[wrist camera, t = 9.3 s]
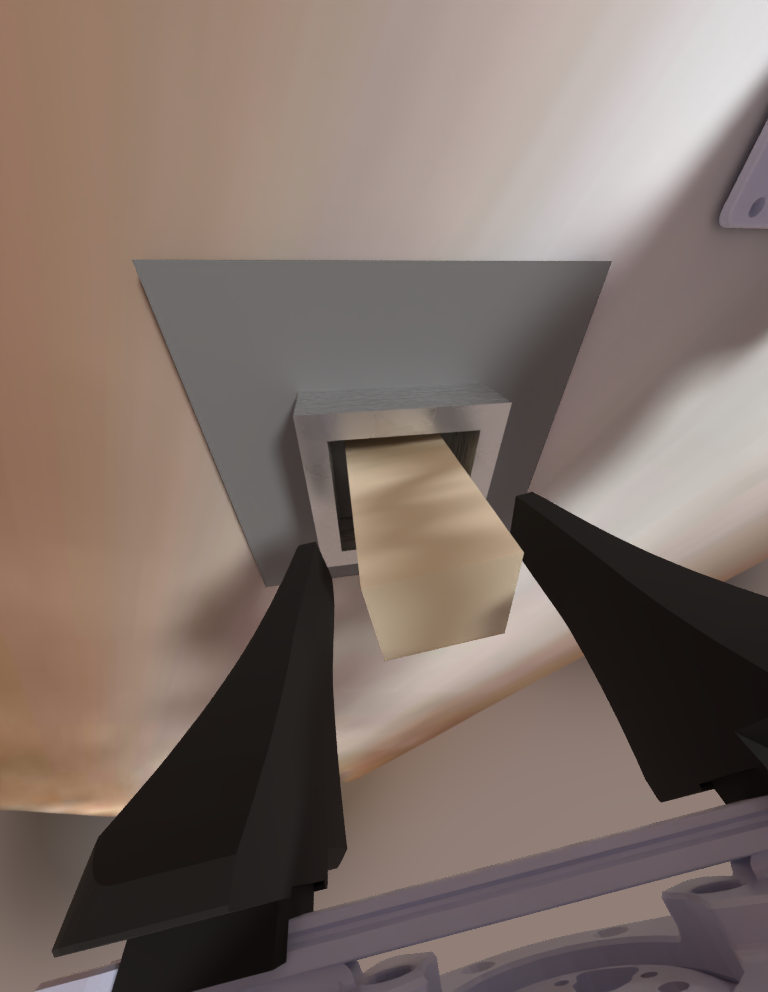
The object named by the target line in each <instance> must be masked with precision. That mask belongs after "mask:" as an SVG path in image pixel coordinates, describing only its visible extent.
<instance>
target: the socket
mask: <svg viewBox="0 0 768 992" xmlns="http://www.w3.org/2000/svg"><path fill="white" fill-rule="evenodd" d="M511 404H512V402H510V401H509V400H507V399H506V398H504V397H503V396H501V395H500V394H499V393H497V392H496V391H494V390H493V389H491V388H490V387H488V386H487V385H485V384H484V383H468V384H449V385H430V386H410V387H391V388H371V389H352V390H333V391H313V392H298V397H297V401H296V405H295V409H294V414H293V419H294V424H295V429H296V434H297V439H298V444H299V449H300V454H301V459H302V464H303V469H304V474H305V479H306V484H307V489H308V494H309V499H310V504H311V509H312V514H313V519H314V524H315V529H316V534H317V539H318V544H319V549H320V552H321V554H322V556H323V558H324V560H325V563H326V565H327V567H333V566H341V565H349V564H357V563H358V558H357V549H356V540H355V531H354V523H353V516H348V517H340V515H339V507H338V499H337V492H336V484H335V476H334V468H333V460H332V452H331V444H330V441H338V440H351V439H365V438H379V437H392V436H406V435H420V434H433V433H447V432H453V438H452V445H451V451H452V453H453V454H454V455H455V457H456V458H457V460H458V461H459V462H460V464H461V465H462V467H463V468H464V469H465V471H466V472H467V474H468V475H469V476H470V478H471V479H472V481H473V482H474V483H475V485H476V486H477V488H478V489H479V490H480V492H481V493H482V495H483V496H484V497H485V499H486V498H487V494H488V490H489V487H490V483H491V479H492V475H493V472H494V468H495V464H496V460H497V457H498V453H499V449H500V445H501V442H502V438H503V434H504V430H505V427H506V423H507V419H508V416H509V412H510V408H511Z"/></svg>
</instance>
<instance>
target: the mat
mask: <svg viewBox="0 0 768 992" xmlns="http://www.w3.org/2000/svg"><path fill="white" fill-rule="evenodd" d="M132 261H133V263H134V266H135V268H136V271H137V273H138V275H139V278H140V280H141V283H142V285H143V288H144V290H145V293H146V295H147V297H148V300H149V302H150V305H151V307H152V310H153V312H154V314H155V317H156V319H157V322H158V324H159V327H160V329H161V332H162V334H163V336H164V339H165V341H166V344H167V346H168V349H169V351H170V354H171V356H172V358H173V361H174V363H175V366H176V368H177V371H178V373H179V376H180V378H181V380H182V383H183V385H184V388H185V390H186V393H187V395H188V397H189V400H190V402H191V405H192V407H193V410H194V412H195V415H196V417H197V419H198V422H199V424H200V427H201V429H202V432H203V434H204V437H205V439H206V441H207V444H208V446H209V449H210V451H211V454H212V456H213V458H214V461H215V463H216V466H217V468H218V471H219V473H220V476H221V478H222V480H223V483H224V485H225V488H226V490H227V493H228V495H229V498H230V500H231V502H232V505H233V507H234V510H235V512H236V515H237V517H238V520H239V522H240V524H241V527H242V529H243V532H244V534H245V537H246V539H247V541H248V544H249V546H250V549H251V551H252V554H253V556H254V559H255V561H256V563H257V566H258V568H259V571H260V573H261V576H262V578H263V581H264V583H265V585H266V587H267V586H275V585H281V582H282V580H283V578H284V576H285V574H286V572H287V569H288V567H289V565H290V563H291V560H292V558H293V556H294V553H295V551H296V549H297V547H298V546H299V545H303V544H307V543H311V542H316V543H317V545H318V547H319V544H318V539H317V534H316V529H315V524H314V519H313V514H312V509H311V504H310V499H309V494H308V489H307V484H306V479H305V474H304V469H303V464H302V459H301V454H300V449H299V444H298V439H297V434H296V429H295V424H294V419H293V414H294V409H295V405H296V401H297V397H298V392H313V391H333V390H352V389H371V388H391V387H410V386H430V385H449V384H468V383H484V384H485V385H487V386H488V387H490V388H491V389H493V390H494V391H496V392H497V393H499V394H500V395H501V396H503V397H504V398H506V399H507V400H509V401H510V402H512V404H511V408H510V412H509V416H508V419H507V423H506V427H505V430H504V434H503V438H502V442H501V445H500V449H499V453H498V457H497V460H496V464H495V468H494V472H493V475H492V479H491V483H490V487H489V490H488V494H487V498H486V500H487V502H488V503H489V504H490V506H491V507H492V509H493V510H494V511H495V513H496V514H497V516H498V517H499V518H500V520H501V521H502V523H503V524H504V525H505V527H506V528H507V530H508V531H509V532H510V529H511V523H512V517H513V511H514V504H515V498H516V496H518V495H522V494H526V493H527V490H528V488H529V485H530V482H531V480H532V477H533V474H534V471H535V469H536V466H537V463H538V461H539V458H540V455H541V452H542V450H543V447H544V444H545V442H546V439H547V436H548V433H549V431H550V428H551V425H552V423H553V420H554V417H555V414H556V412H557V409H558V406H559V403H560V401H561V398H562V395H563V393H564V390H565V387H566V384H567V382H568V379H569V376H570V374H571V371H572V368H573V365H574V363H575V360H576V357H577V355H578V352H579V349H580V346H581V344H582V341H583V338H584V336H585V333H586V330H587V327H588V325H589V322H590V319H591V317H592V314H593V311H594V308H595V306H596V303H597V300H598V298H599V295H600V292H601V289H602V287H603V284H604V281H605V279H606V276H607V273H608V270H609V268H610V265H611V262H612V261H355V260H132ZM439 435H440V436H441V437H442V439H443V440H444V442H445V443H446V444H447V446H448V447H449V448H450V450H451V445H452V438H453V432H447V433H439ZM330 444H331V452H332V460H333V468H334V476H335V484H336V492H337V499H338V507H339V515H340V517H348V516H353V514H352V505H351V496H350V487H349V478H348V469H347V460H346V451H345V442H344V440H338V441H330ZM328 569H329V572H330V574H331V576H332V578H336V577H344V576H351V575H359V567H358V563H357V564H349V565H341V566H333V567H328Z"/></svg>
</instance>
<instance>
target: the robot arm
mask: <svg viewBox="0 0 768 992" xmlns="http://www.w3.org/2000/svg"><path fill="white" fill-rule="evenodd" d="M751 206H752V207H751ZM750 208H751V209H750ZM749 210H750V211H749ZM719 223H720V225H721V226H722V227H724V228H761V229H768V120H767V122H766V124H765V126H764V127H763V129H762V131H761V133H760V135H759V137H758V139H757V141H756V143H755V145H754V147H753V149H752V151H751V153H750V155H749V157H748V159H747V161H746V163H745V165H744V167H743V169H742V171H741V173H740V175H739V177H738V179H737V181H736V183H735V185H734V187H733V189H732V191H731V193H730V195H729V197H728V199H727V201H726V203H725V205H724V207H723V209H722V211H721V214H720V219H719ZM510 534H511V535H512V537H513V538H514V539H515V541H516V542H517V544H518V545H519V546H520V548H521V549H522V551H523V552H524V555H523V559H522V561H523V562H524V564H525V565H526V567H527V568H528V570H529V571H530V572H531V574H532V575H533V577H534V578H535V580H536V581H537V582H538V584H539V585H540V587H541V588H542V590H543V591H544V592H545V594H546V595H547V597H548V598H549V600H550V601H551V602H552V604H553V605H554V607H555V608H556V609H557V611H558V612H559V614H560V615H561V617H562V618H563V620H564V621H565V623H566V624H567V626H568V628H569V629H570V631H571V633H572V635H573V636H574V638H575V640H576V642H577V643H578V645H579V647H580V649H581V650H582V652H583V654H584V656H585V657H586V659H587V661H588V663H589V665H590V667H591V669H592V670H593V672H594V674H595V676H596V678H597V680H598V682H599V683H600V685H601V687H602V689H603V691H604V693H605V695H606V697H607V699H608V701H609V703H610V705H611V707H612V709H613V711H614V713H615V715H616V717H617V719H618V721H619V723H620V725H621V727H622V729H623V731H624V733H625V735H626V738H627V740H628V742H629V744H630V746H631V749H632V751H633V753H634V755H635V757H636V759H637V762H638V764H639V766H640V768H641V771H642V773H643V775H644V777H645V780H646V781H647V782H648V784H649V786H650V787H651V789H652V791H653V792H654V794H655V795H656V797H657V798H658V800H659V801H660V802H665V801H669V800H673V799H677V798H681V797H684V796H688V795H692V794H696V793H700V792H704V791H708V790H712V789H715V790H716V792H717V793H718V794H719V795H720V797H721V798H722V800H723V801H724V802H725V804H726V805H722V806H718V807H714V808H710V809H707V810H703V811H699V812H695V813H691V814H687V815H683V816H680V817H676V818H672V819H668V820H664V821H660V822H656V823H652V824H649V825H645V826H641V827H637V828H633V829H629V830H626V831H622V832H618V833H615V834H610V835H606V836H602V837H599V838H595V839H591V840H587V841H583V842H579V843H576V844H572V845H568V846H564V847H560V848H557V849H552V850H549V851H545V852H541V853H537V854H533V855H529V856H525V857H522V858H518V859H514V860H510V861H506V862H503V863H498V864H495V865H491V866H487V867H483V868H479V869H475V870H471V871H468V872H464V873H460V874H456V875H452V876H449V877H444V878H441V879H437V880H433V881H429V882H425V883H421V884H418V885H414V886H410V887H406V888H402V889H398V890H394V891H391V892H387V893H383V894H379V895H375V896H371V897H368V898H364V899H360V900H356V901H352V902H348V903H344V904H341V905H337V906H333V907H329V908H325V909H321V910H318V911H313V904H314V903H313V901H314V892H315V891H319V890H323V889H327V885H328V873H327V872H328V870H332V869H335V868H337V867H338V866H339V864H340V863H341V861H342V859H343V857H344V854H345V852H346V850H347V844H346V835H345V826H344V816H343V807H342V797H341V788H340V776H339V765H338V754H337V741H336V727H335V713H334V697H333V637H334V594H333V583H332V576H331V574H330V572H329V569H328V567H327V565H326V563H325V560H324V558H323V556H322V554H321V552H320V549H319V547H318V545H317V543H316V542H311V543H307V544H303V545H299V546H298V547H297V549H296V551H295V553H294V556H293V558H292V560H291V563H290V565H289V567H288V569H287V572H286V574H285V576H284V578H283V580H282V582H281V585H280V587H279V589H278V591H277V593H276V595H275V597H274V599H273V601H272V603H271V605H270V607H269V608H268V610H267V612H266V614H265V616H264V618H263V619H262V621H261V623H260V625H259V627H258V628H257V630H256V632H255V634H254V635H253V637H252V639H251V641H250V642H249V644H248V646H247V647H246V649H245V650H244V652H243V654H242V655H241V657H240V658H239V660H238V661H237V663H236V665H235V666H234V668H233V669H232V671H231V672H230V674H229V675H228V676H227V678H226V679H225V681H224V682H223V684H222V685H221V687H220V688H219V689H218V691H217V692H216V694H215V695H214V697H213V698H212V699H211V701H210V702H209V704H208V705H207V706H206V708H205V709H204V710H203V712H202V713H201V714H200V716H199V717H198V718H197V720H196V721H195V722H194V723H193V725H192V726H191V727H190V729H189V730H188V731H187V732H186V734H185V735H184V736H183V737H182V739H181V740H180V741H179V743H178V744H177V745H176V746H175V748H174V749H173V750H172V752H171V753H170V754H169V755H168V757H167V758H166V759H165V760H164V761H163V763H162V764H161V765H160V766H159V768H158V769H157V770H156V771H155V772H154V774H153V775H152V776H151V777H150V778H149V779H148V781H147V782H146V783H145V784H144V785H143V786H142V788H141V789H140V790H139V791H138V792H137V793H136V795H135V796H134V797H133V798H132V799H131V800H130V801H129V803H128V804H127V805H126V806H125V807H124V808H123V810H122V811H121V812H120V813H119V814H118V815H117V817H116V818H115V819H114V820H113V821H112V822H111V824H110V825H109V826H108V827H107V828H106V829H105V830H104V831H103V833H102V834H101V835H100V836H99V837H98V839H97V842H96V844H95V846H94V848H93V851H92V853H91V856H90V858H89V860H88V863H87V865H86V868H85V870H84V873H83V875H82V877H81V880H80V882H79V885H78V887H77V890H76V892H75V895H74V897H73V899H72V902H71V904H70V907H69V909H68V912H67V914H66V917H65V919H64V922H63V924H62V927H61V929H60V932H59V935H58V937H57V939H56V942H55V944H54V947H53V949H52V953H53V955H54V957H59V956H63V955H67V954H71V953H75V952H79V951H83V950H87V949H91V948H95V947H99V946H103V945H107V944H111V943H115V942H119V941H123V940H127V942H126V946H125V949H124V952H123V956H122V959H119V960H116V961H112V962H111V963H110V964H108V965H104V966H100V967H96V968H92V969H88V970H85V971H81V972H77V973H73V974H69V975H66V976H63V977H60V978H56V979H53V980H50V981H46V982H43V983H41V984H40V985H39V986H38V988H37V989H36V990H35V991H34V992H768V597H766V596H763V595H760V594H756V593H754V592H751V591H748V590H745V589H742V588H739V587H736V586H733V585H730V584H727V583H725V582H722V581H719V580H717V579H714V578H711V577H708V576H706V575H703V574H700V573H698V572H695V571H692V570H690V569H687V568H685V567H682V566H680V565H677V564H675V563H673V562H670V561H668V560H665V559H663V558H661V557H658V556H656V555H654V554H651V553H649V552H647V551H645V550H642V549H640V548H638V547H636V546H634V545H632V544H630V543H628V542H626V541H623V540H621V539H619V538H617V537H615V536H613V535H611V534H609V533H607V532H605V531H603V530H601V529H599V528H598V527H596V526H594V525H592V524H590V523H588V522H586V521H584V520H583V519H581V518H579V517H577V516H575V515H573V514H572V513H570V512H568V511H566V510H564V509H563V508H561V507H559V506H557V505H555V504H554V503H552V502H550V501H548V500H546V499H545V498H543V497H541V496H539V495H537V494H535V493H533V492H531V493H526V494H522V495H518V496H516V498H515V504H514V511H513V517H512V523H511V529H510ZM729 861H731V867H732V870H733V875H732V876H712V877H700V878H695V879H690V880H687V881H684V882H682V883H680V884H678V885H675V886H673V887H671V888H669V889H667V890H665V891H663V892H662V899H663V901H664V903H665V905H666V907H667V908H668V910H669V912H670V914H671V916H666V917H660V918H656V919H650V920H644V921H639V922H633V923H628V924H623V925H618V926H612V927H607V928H601V929H596V930H591V931H586V932H581V933H576V934H571V935H566V936H562V937H558V938H553V939H549V940H545V941H542V942H538V943H534V944H531V945H527V946H523V947H520V948H517V949H514V950H510V951H507V952H504V953H501V954H498V955H495V956H492V957H489V958H486V959H484V960H481V961H478V962H475V963H473V964H470V965H467V966H464V967H462V968H459V969H456V970H453V971H450V972H447V973H445V974H442V975H439V970H438V963H437V957H436V956H435V954H434V953H433V952H425V953H415V954H405V955H399V956H395V957H391V958H388V959H385V960H383V961H381V962H379V963H377V964H376V965H374V966H373V967H371V968H370V969H368V970H367V971H366V972H364V973H362V971H361V968H360V965H359V963H358V961H357V960H359V959H363V958H366V957H370V956H374V955H378V954H381V953H385V952H389V951H392V950H396V949H400V948H404V947H408V946H412V945H415V944H419V943H423V942H427V941H430V940H434V939H438V938H442V937H446V936H449V935H453V934H457V933H461V932H464V931H468V930H472V929H476V928H480V927H483V926H487V925H491V924H495V923H498V922H502V921H506V920H510V919H513V918H517V917H521V916H525V915H529V914H533V913H536V912H540V911H544V910H548V909H551V908H555V907H559V906H562V905H566V904H570V903H574V902H578V901H582V900H585V899H589V898H593V897H597V896H600V895H604V894H608V893H612V892H616V891H619V890H623V889H627V888H631V887H635V886H638V885H642V884H646V883H650V882H653V881H657V880H661V879H665V878H669V877H672V876H676V875H680V874H683V873H687V872H691V871H695V870H699V869H703V868H706V867H710V866H714V865H718V864H721V863H725V862H729Z"/></svg>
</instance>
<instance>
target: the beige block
mask: <svg viewBox="0 0 768 992" xmlns="http://www.w3.org/2000/svg"><path fill="white" fill-rule="evenodd" d="M344 442H345V451H346V460H347V469H348V478H349V487H350V496H351V505H352V514H353V523H354V531H355V540H356V549H357V558H358V567H359V576H360V585H361V591H362V594H363V597H364V600H365V603H366V606H367V609H368V612H369V615H370V618H371V621H372V624H373V627H374V630H375V634H376V637H377V640H378V643H379V646H380V649H381V652H382V655H383V658H384V661H388V660H392V659H396V658H400V657H405V656H409V655H413V654H417V653H422V652H426V651H430V650H434V649H439V648H443V647H447V646H452V645H456V644H460V643H464V642H469V641H473V640H477V639H481V638H486V637H490V636H494V635H498V634H503V633H505V629H506V625H507V621H508V617H509V613H510V609H511V605H512V600H513V596H514V592H515V588H516V584H517V580H518V576H519V572H520V567H521V563H522V559H523V555H524V552H523V551H522V549H521V548H520V546H519V545H518V544H517V542H516V541H515V539H514V538H513V537H512V535H511V534H510V532H509V531H508V530H507V528H506V527H505V525H504V524H503V523H502V521H501V520H500V518H499V517H498V516H497V514H496V513H495V511H494V510H493V509H492V507H491V506H490V504H489V503H488V502H487V500H486V499H485V497H484V496H483V495H482V493H481V492H480V490H479V489H478V488H477V486H476V485H475V483H474V482H473V481H472V479H471V478H470V476H469V475H468V474H467V472H466V471H465V469H464V468H463V467H462V465H461V464H460V462H459V461H458V460H457V458H456V457H455V455H454V454H453V453H452V451H451V450H450V448H449V447H448V446H447V444H446V443H445V442H444V440H443V439H442V437H441V436H440V435H439V433H433V434H420V435H406V436H392V437H379V438H365V439H351V440H344Z"/></svg>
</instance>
